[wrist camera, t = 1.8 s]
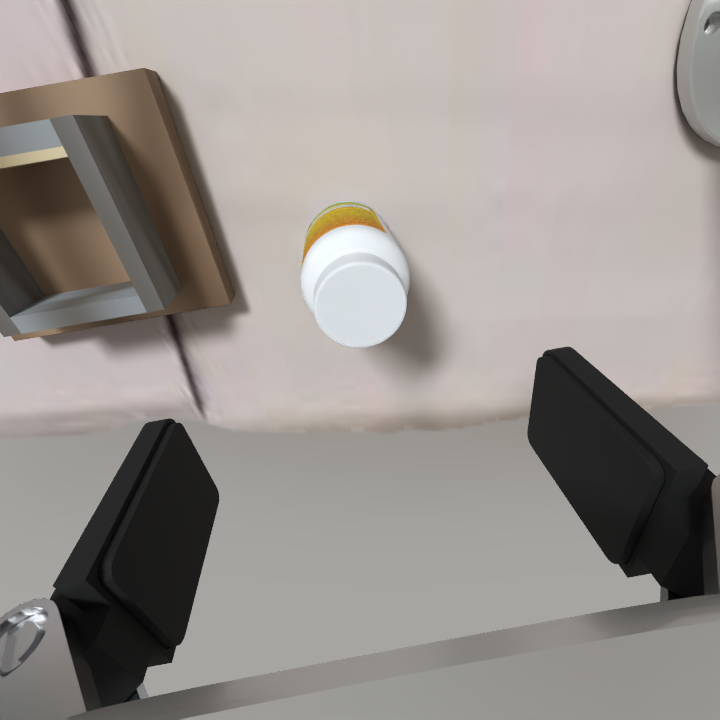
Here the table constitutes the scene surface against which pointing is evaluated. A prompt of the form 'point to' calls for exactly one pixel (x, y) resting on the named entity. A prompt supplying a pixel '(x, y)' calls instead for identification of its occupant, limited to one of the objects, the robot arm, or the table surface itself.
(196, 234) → the collar board
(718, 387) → the table surface
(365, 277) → the supplement bottle
